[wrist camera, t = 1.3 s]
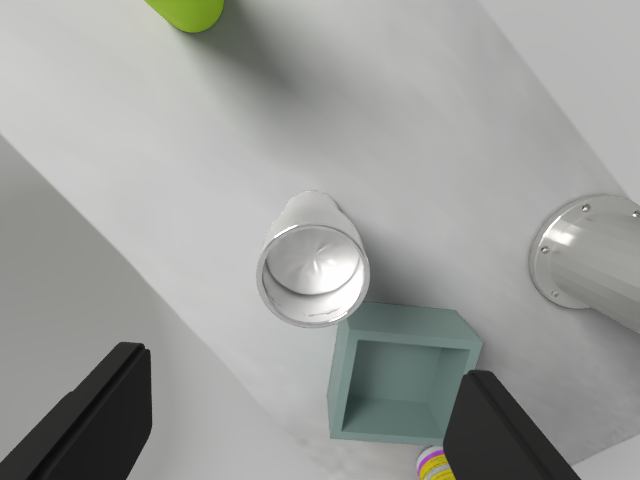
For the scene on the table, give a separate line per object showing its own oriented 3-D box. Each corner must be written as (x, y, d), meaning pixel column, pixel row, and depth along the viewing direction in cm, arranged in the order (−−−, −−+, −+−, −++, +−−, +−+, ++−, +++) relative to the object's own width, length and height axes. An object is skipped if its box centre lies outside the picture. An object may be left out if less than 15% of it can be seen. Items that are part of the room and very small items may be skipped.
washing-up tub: (455, 310, 36) (483, 341, 30) (429, 403, 39) (450, 446, 34) (342, 299, 35) (349, 329, 29) (326, 395, 39) (330, 438, 33)
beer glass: (278, 183, 31) (252, 215, 17) (348, 188, 32) (381, 222, 17) (276, 250, 33) (251, 329, 19) (342, 253, 34) (367, 334, 19)
